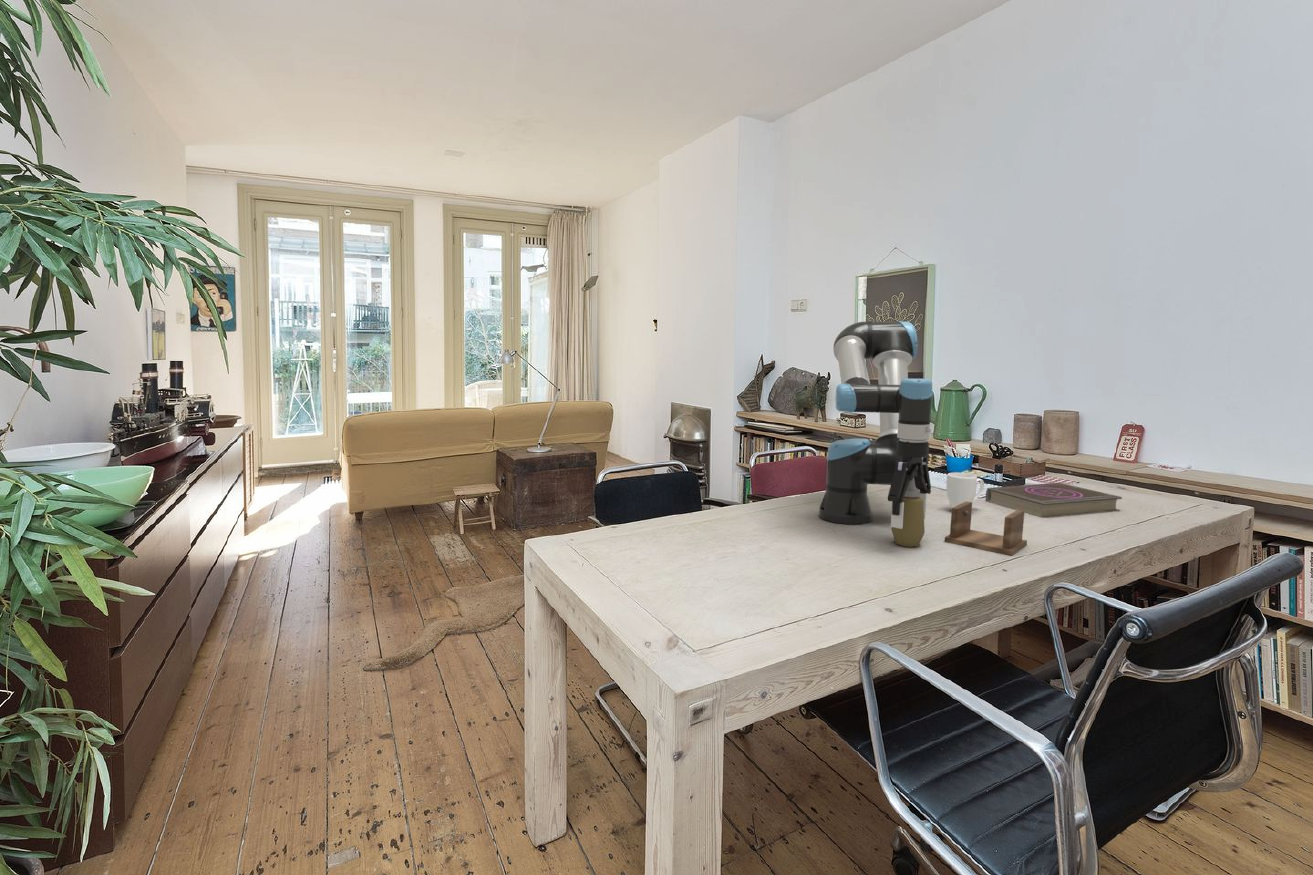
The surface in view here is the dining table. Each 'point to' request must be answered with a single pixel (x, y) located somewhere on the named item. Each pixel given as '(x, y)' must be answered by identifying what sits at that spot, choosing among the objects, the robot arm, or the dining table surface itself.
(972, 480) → the mug
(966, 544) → the holder
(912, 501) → the squeeze bottle
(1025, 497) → the book
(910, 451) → the robot arm
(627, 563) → the dining table surface
